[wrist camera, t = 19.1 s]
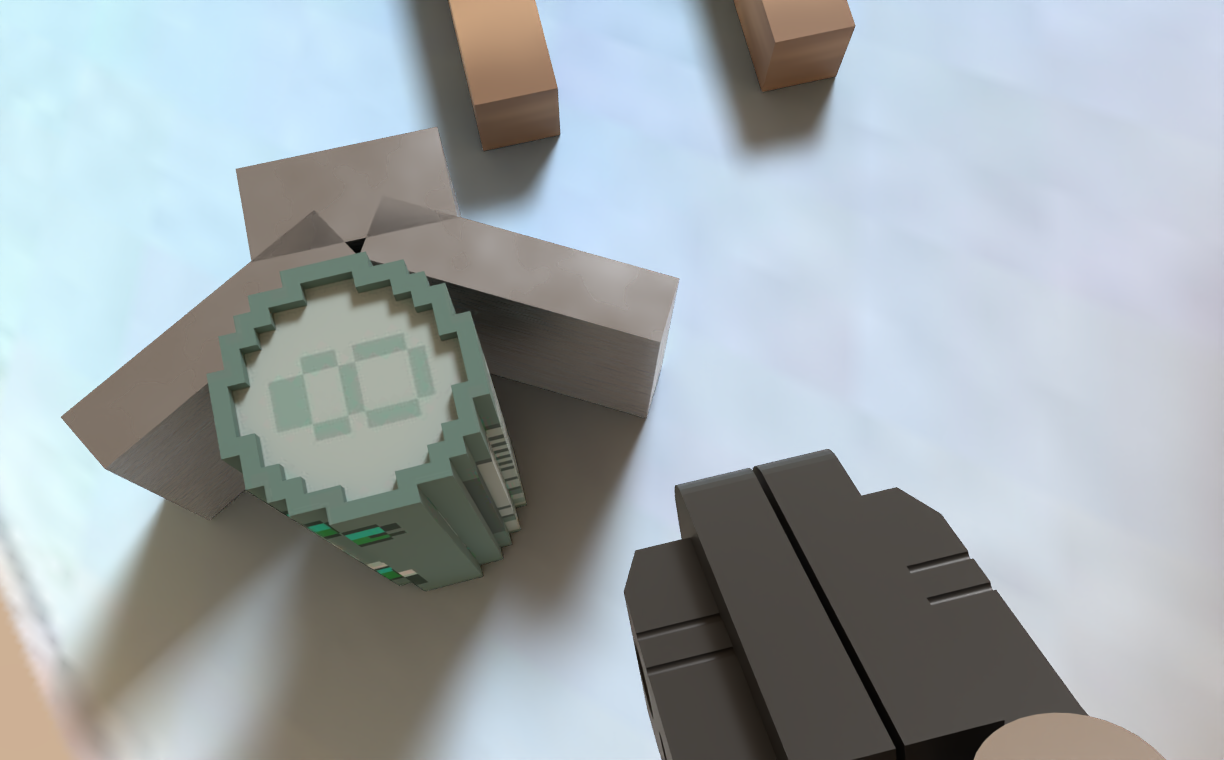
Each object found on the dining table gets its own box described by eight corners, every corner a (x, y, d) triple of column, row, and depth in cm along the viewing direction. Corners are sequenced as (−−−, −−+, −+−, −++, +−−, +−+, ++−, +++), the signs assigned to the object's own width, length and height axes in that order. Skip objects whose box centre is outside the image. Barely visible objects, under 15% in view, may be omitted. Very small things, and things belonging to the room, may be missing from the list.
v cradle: (673, 412, 42) (694, 334, 33) (180, 527, 40) (67, 477, 32) (620, 210, 44) (626, 87, 35) (149, 312, 42) (35, 210, 34)
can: (332, 437, 41) (191, 291, 27) (500, 396, 42) (451, 231, 27) (366, 606, 40) (236, 548, 25) (540, 561, 40) (510, 479, 26)
